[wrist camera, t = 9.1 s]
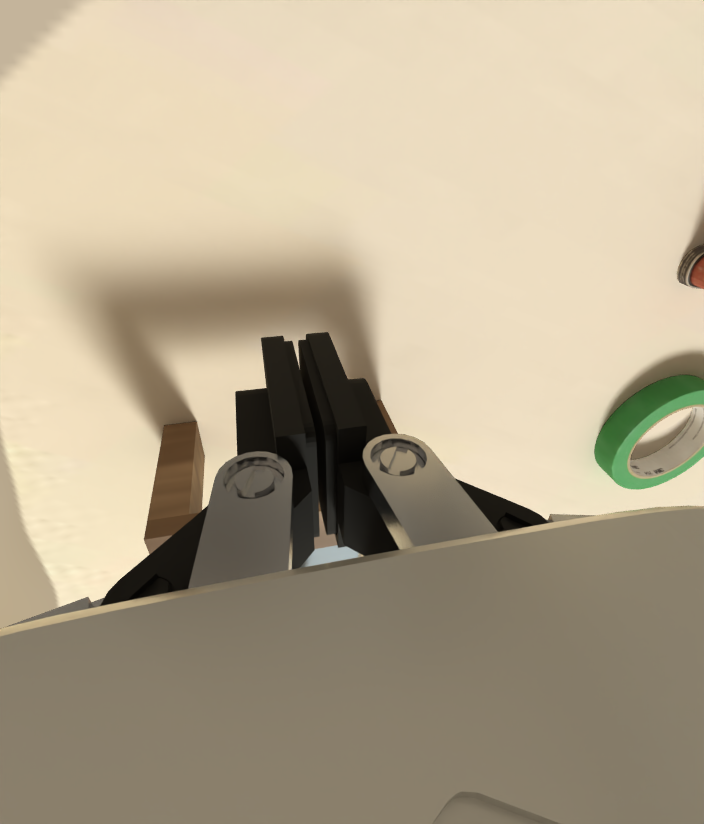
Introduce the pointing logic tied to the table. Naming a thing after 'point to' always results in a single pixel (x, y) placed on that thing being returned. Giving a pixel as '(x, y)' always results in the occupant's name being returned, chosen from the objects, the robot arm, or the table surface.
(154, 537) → the bridge
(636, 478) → the tape roll
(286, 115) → the table surface
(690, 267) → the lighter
